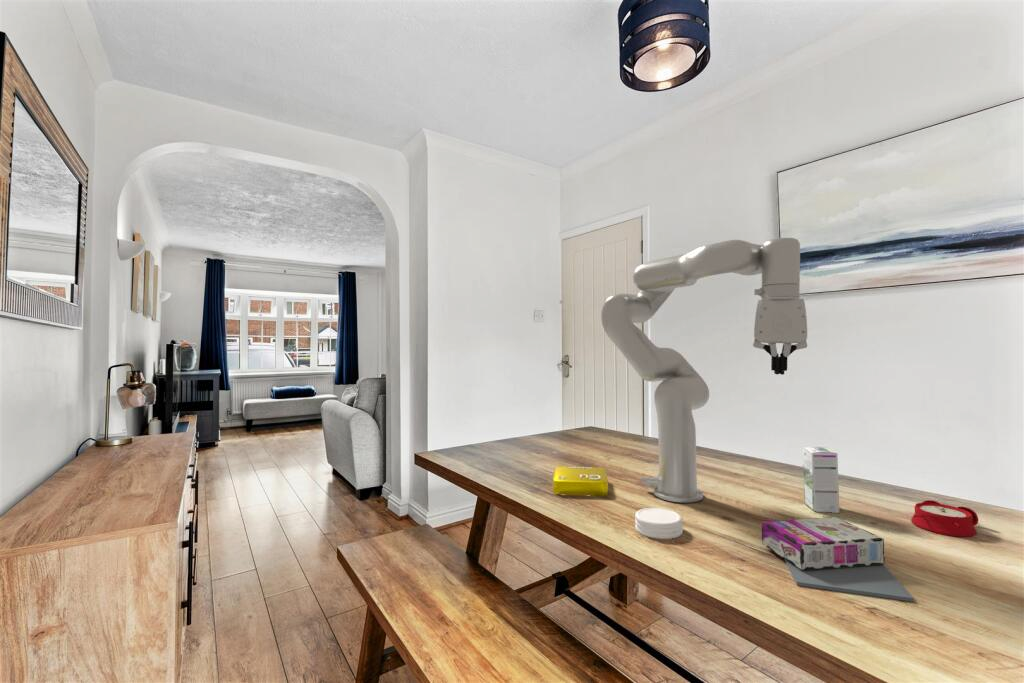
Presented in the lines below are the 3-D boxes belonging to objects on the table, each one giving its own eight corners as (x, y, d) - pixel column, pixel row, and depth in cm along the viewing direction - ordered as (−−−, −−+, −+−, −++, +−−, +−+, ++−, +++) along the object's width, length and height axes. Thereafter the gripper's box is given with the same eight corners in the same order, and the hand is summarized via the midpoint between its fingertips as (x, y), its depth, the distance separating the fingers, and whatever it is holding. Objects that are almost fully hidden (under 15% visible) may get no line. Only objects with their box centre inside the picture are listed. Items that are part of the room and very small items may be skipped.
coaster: (658, 544, 95) (658, 527, 95) (625, 527, 104) (625, 511, 104) (692, 534, 100) (692, 518, 100) (658, 518, 109) (658, 504, 109)
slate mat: (796, 585, 78) (796, 581, 78) (777, 545, 93) (777, 542, 93) (913, 601, 73) (913, 598, 73) (873, 556, 88) (873, 553, 88)
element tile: (606, 481, 139) (605, 465, 139) (608, 498, 124) (608, 480, 124) (556, 480, 141) (555, 464, 141) (552, 496, 126) (552, 478, 126)
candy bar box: (801, 572, 81) (886, 565, 83) (800, 544, 81) (885, 537, 83) (761, 545, 92) (836, 539, 94) (760, 520, 92) (836, 515, 94)
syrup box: (840, 513, 109) (839, 452, 109) (812, 512, 110) (811, 451, 111) (829, 505, 115) (828, 447, 115) (802, 503, 116) (801, 446, 116)
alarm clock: (903, 511, 101) (920, 483, 110) (906, 537, 102) (922, 507, 111) (970, 526, 93) (982, 494, 101) (972, 554, 93) (984, 520, 102)
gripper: (745, 293, 104) (744, 374, 105) (822, 291, 99) (821, 376, 99) (742, 295, 111) (741, 371, 112) (814, 294, 106) (813, 373, 106)
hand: (779, 373), depth 105 cm, fingers closed
